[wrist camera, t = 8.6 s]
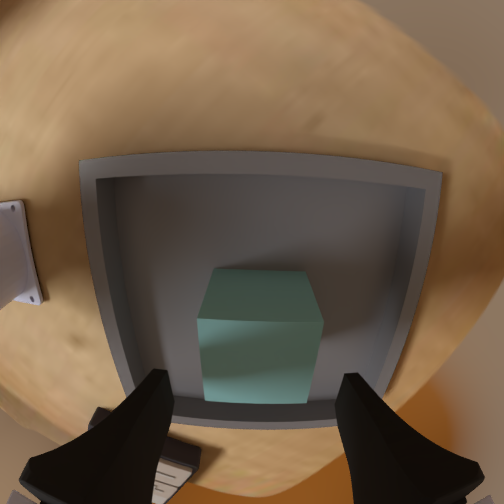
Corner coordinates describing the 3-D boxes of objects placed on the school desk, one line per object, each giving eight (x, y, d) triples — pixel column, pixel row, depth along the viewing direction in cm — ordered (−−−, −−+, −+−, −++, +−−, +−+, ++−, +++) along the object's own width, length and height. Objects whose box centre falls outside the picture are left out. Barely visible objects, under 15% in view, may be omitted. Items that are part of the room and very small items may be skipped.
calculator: (199, 474, 20) (164, 509, 24) (203, 440, 24) (168, 485, 28) (84, 429, 18) (84, 478, 22) (100, 398, 22) (93, 455, 26)
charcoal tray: (142, 394, 20) (134, 416, 18) (102, 157, 14) (78, 160, 12) (362, 399, 20) (370, 421, 18) (418, 167, 14) (442, 172, 12)
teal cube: (216, 341, 17) (204, 400, 13) (213, 268, 16) (196, 318, 11) (296, 344, 17) (306, 403, 13) (305, 271, 16) (324, 322, 11)
